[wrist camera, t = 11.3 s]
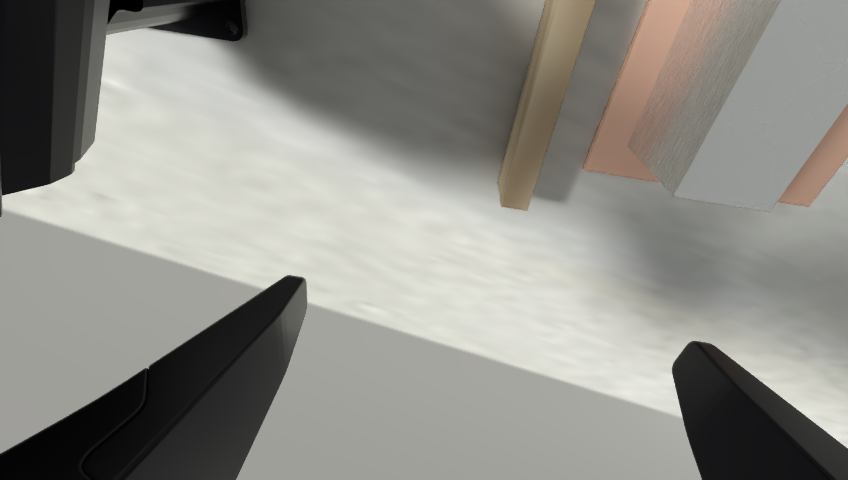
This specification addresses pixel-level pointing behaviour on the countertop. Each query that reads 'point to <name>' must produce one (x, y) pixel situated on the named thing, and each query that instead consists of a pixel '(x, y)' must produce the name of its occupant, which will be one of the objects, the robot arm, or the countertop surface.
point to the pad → (636, 85)
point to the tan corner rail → (542, 97)
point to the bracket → (744, 98)
